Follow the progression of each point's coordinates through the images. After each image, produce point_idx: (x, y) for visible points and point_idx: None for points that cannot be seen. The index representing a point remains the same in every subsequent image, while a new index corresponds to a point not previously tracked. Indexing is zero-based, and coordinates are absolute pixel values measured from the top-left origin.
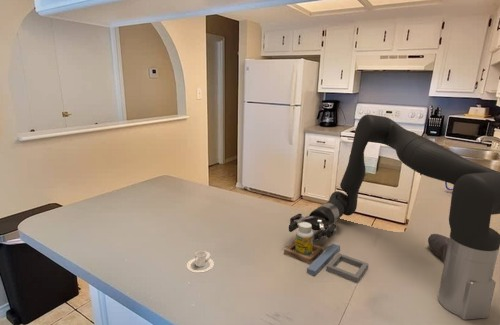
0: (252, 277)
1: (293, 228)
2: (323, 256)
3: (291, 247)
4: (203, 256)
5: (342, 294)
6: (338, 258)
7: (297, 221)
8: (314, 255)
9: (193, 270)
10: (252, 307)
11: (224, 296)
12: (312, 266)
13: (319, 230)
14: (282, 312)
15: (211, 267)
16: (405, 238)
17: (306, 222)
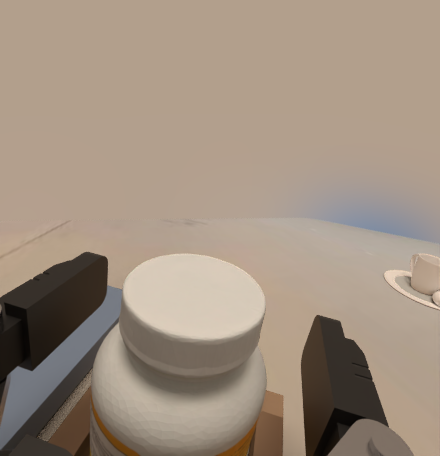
0: (283, 274)
1: (309, 377)
2: (22, 396)
3: (255, 437)
4: (418, 257)
5: (29, 258)
6: None
7: (346, 436)
8: (89, 387)
9: (404, 273)
10: (233, 229)
11: (289, 239)
12: (114, 304)
13: (34, 293)
14: (181, 226)
15: (391, 283)
16: None
17: (195, 333)
